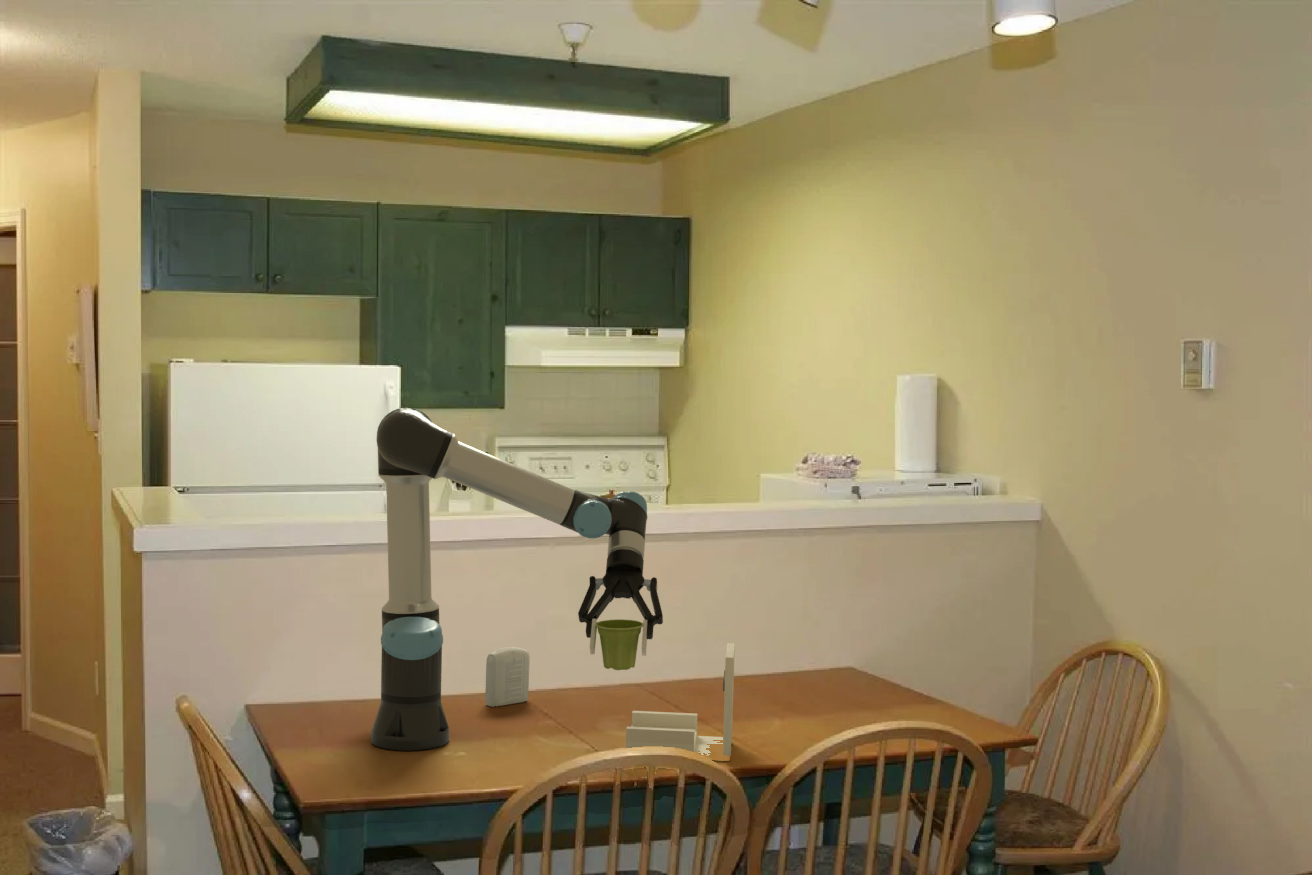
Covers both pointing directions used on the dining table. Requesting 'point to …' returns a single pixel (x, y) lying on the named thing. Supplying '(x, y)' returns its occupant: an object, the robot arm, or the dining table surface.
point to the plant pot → (619, 642)
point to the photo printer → (507, 676)
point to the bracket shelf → (684, 722)
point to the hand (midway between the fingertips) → (617, 650)
